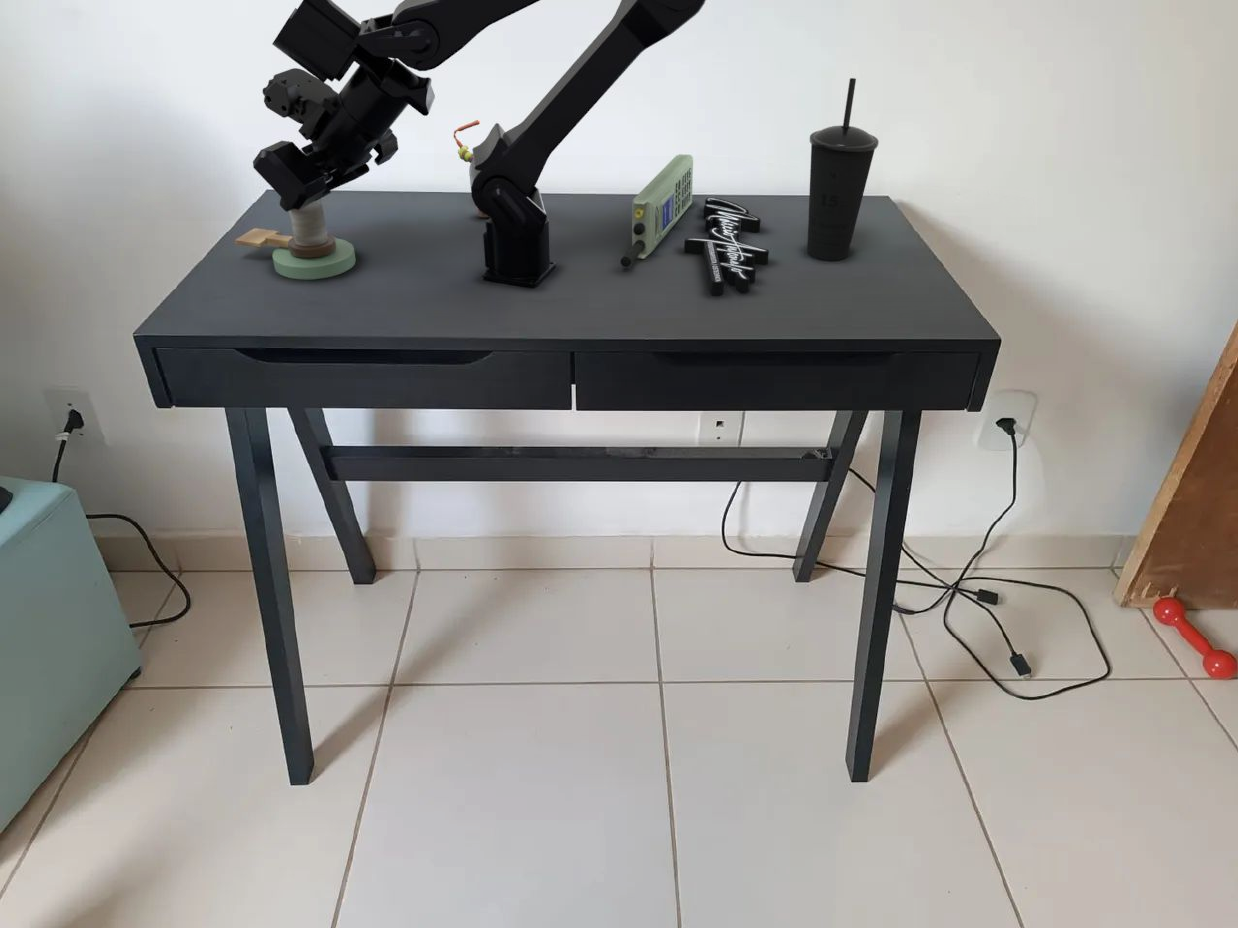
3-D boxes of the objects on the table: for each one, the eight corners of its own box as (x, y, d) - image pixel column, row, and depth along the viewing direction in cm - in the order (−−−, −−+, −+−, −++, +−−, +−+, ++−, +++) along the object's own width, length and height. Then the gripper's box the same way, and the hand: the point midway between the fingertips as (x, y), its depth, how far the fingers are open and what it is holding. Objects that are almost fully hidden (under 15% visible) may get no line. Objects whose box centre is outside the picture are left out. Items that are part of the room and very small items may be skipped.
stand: (370, 255, 111) (368, 243, 110) (327, 284, 104) (324, 272, 103) (304, 244, 114) (302, 232, 113) (258, 272, 107) (255, 260, 106)
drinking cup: (796, 239, 118) (818, 69, 106) (859, 244, 117) (888, 73, 105) (793, 262, 112) (816, 84, 100) (859, 268, 110) (889, 89, 99)
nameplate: (677, 197, 125) (753, 198, 125) (677, 208, 126) (752, 209, 126) (691, 282, 103) (783, 283, 103) (690, 295, 104) (781, 296, 104)
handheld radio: (695, 205, 127) (640, 275, 108) (672, 203, 128) (612, 272, 109) (697, 155, 124) (639, 218, 104) (672, 153, 125) (611, 215, 105)
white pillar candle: (344, 243, 109) (331, 158, 104) (321, 260, 105) (306, 172, 100) (258, 232, 112) (241, 148, 106) (232, 248, 108) (213, 162, 102)
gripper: (359, 27, 102) (291, 123, 111) (248, 64, 87) (181, 170, 96) (432, 110, 104) (360, 197, 113) (335, 159, 89) (262, 254, 99)
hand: (294, 202), depth 105 cm, fingers closed on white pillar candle, 4 cm apart
